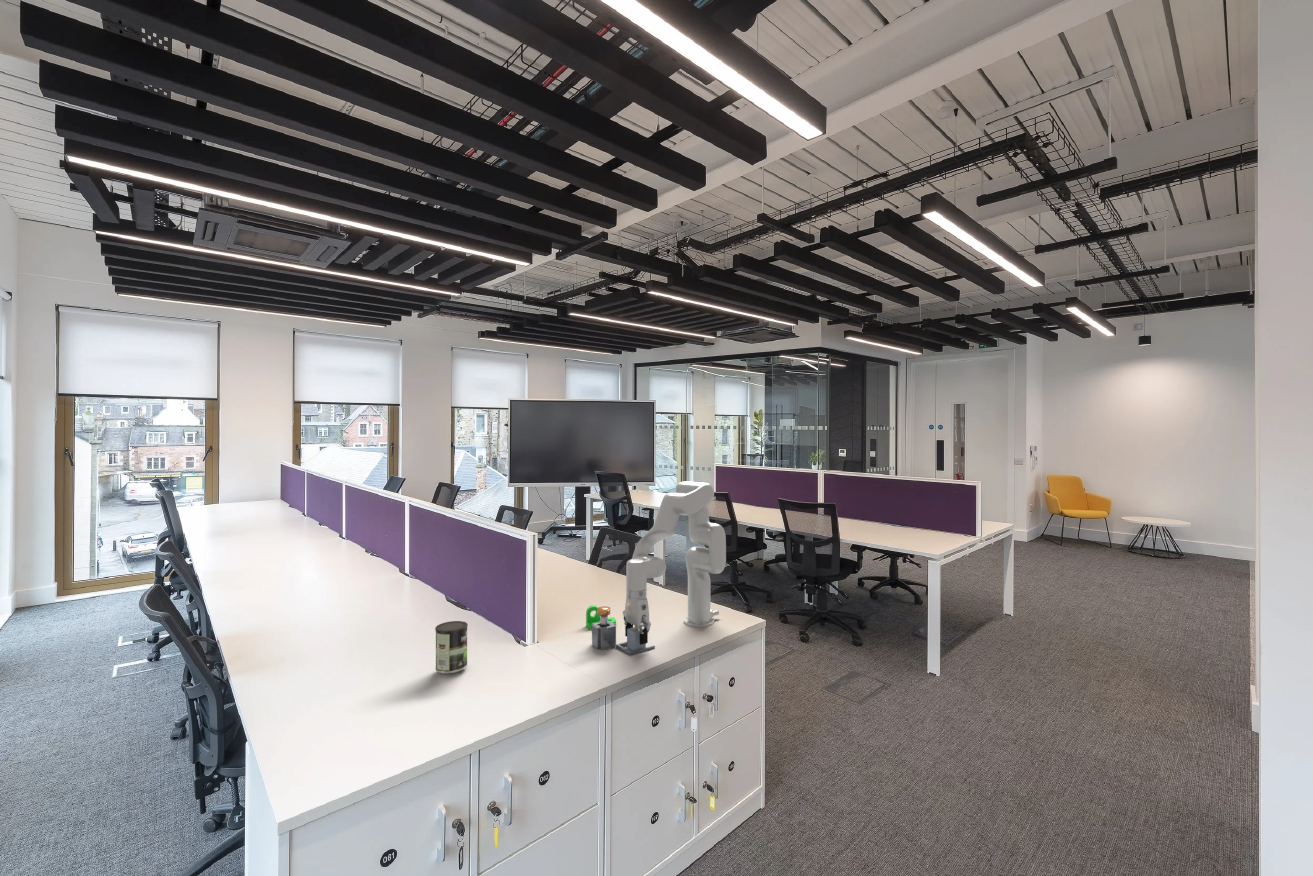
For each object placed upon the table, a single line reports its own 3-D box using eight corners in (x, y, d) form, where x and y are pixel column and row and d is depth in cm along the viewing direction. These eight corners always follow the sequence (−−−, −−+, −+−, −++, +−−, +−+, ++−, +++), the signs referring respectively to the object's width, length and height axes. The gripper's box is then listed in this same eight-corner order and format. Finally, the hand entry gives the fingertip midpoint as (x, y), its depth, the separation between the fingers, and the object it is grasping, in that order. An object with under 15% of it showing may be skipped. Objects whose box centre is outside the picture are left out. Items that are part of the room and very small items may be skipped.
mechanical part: (589, 630, 220) (589, 610, 220) (586, 625, 225) (586, 606, 225) (617, 626, 224) (617, 607, 224) (613, 622, 229) (613, 603, 229)
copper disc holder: (607, 640, 208) (607, 620, 208) (617, 646, 201) (617, 625, 201) (590, 644, 203) (590, 624, 203) (599, 651, 197) (600, 629, 197)
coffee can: (469, 660, 189) (470, 619, 189) (464, 672, 179) (464, 630, 179) (439, 662, 187) (439, 621, 187) (431, 674, 177) (431, 632, 177)
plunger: (606, 627, 206) (606, 605, 206) (612, 631, 202) (612, 608, 202) (595, 630, 203) (595, 607, 203) (601, 634, 199) (601, 611, 199)
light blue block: (638, 644, 202) (638, 622, 202) (645, 649, 198) (645, 626, 198) (627, 647, 199) (627, 625, 199) (634, 652, 195) (634, 628, 195)
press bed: (640, 640, 207) (640, 636, 207) (658, 651, 197) (658, 646, 197) (611, 648, 200) (611, 644, 200) (628, 659, 190) (628, 654, 190)
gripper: (658, 597, 194) (658, 644, 194) (632, 586, 208) (632, 630, 208) (640, 600, 190) (640, 649, 190) (615, 589, 204) (615, 634, 204)
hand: (636, 639), depth 199 cm, fingers open, 9 cm apart
